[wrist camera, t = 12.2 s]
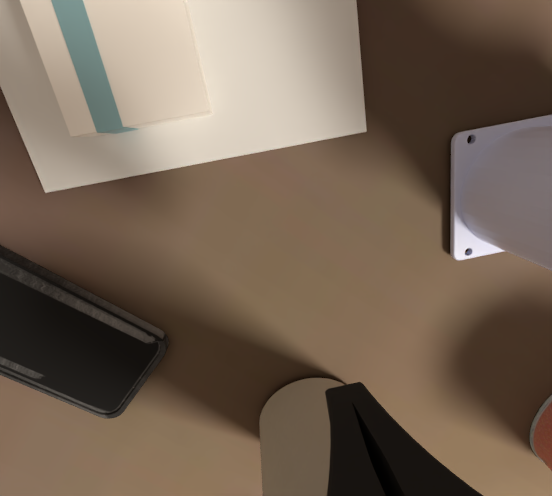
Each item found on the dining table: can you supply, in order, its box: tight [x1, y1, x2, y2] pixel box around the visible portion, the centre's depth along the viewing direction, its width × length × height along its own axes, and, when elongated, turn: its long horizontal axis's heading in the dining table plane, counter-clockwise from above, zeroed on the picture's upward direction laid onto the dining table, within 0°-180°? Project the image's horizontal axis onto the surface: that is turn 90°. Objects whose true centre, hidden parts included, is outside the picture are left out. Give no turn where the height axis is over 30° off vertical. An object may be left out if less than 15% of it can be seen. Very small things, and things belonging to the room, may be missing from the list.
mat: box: [0, 0, 367, 193], centre depth 16 cm, size 18×14×1 cm
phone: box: [0, 245, 169, 418], centre depth 20 cm, size 8×1×15 cm
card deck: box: [20, 0, 213, 137], centre depth 14 cm, size 2×9×6 cm
